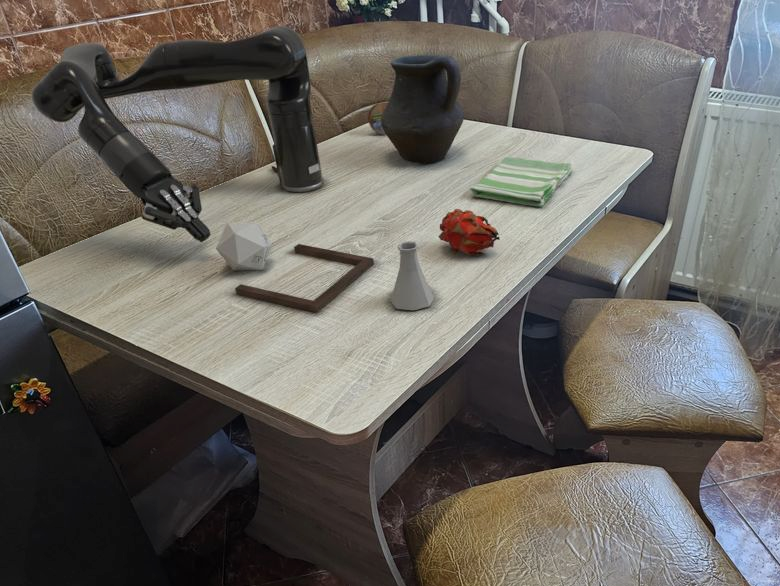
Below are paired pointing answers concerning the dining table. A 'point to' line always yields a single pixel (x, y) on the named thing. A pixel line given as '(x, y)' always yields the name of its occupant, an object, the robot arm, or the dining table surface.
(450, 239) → the dragon fruit
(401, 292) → the flask
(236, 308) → the dining table surface
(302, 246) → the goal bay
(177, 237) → the dining table surface
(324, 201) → the dining table surface
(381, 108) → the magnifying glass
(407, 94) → the pitcher
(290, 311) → the dining table surface
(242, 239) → the die
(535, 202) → the dish towel
